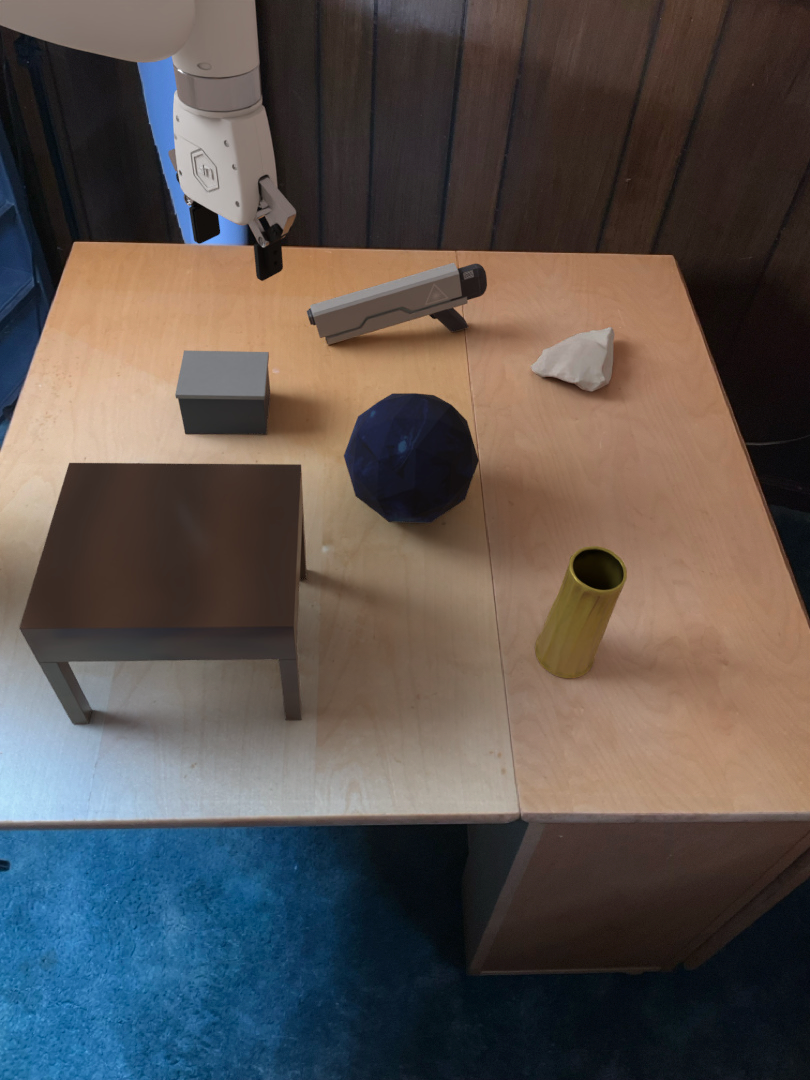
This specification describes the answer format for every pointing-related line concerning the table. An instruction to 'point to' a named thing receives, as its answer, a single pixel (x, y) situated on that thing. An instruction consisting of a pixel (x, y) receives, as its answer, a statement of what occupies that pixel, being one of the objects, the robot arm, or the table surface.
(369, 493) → the decorative orb
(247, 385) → the storage box
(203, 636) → the miniature coffee table
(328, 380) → the table surface
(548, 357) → the stone
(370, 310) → the gun
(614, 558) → the vase
